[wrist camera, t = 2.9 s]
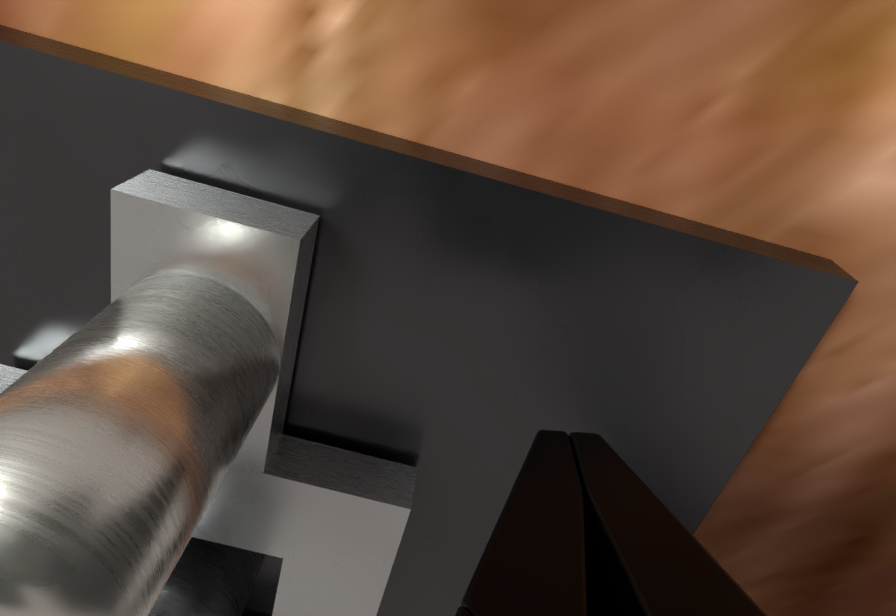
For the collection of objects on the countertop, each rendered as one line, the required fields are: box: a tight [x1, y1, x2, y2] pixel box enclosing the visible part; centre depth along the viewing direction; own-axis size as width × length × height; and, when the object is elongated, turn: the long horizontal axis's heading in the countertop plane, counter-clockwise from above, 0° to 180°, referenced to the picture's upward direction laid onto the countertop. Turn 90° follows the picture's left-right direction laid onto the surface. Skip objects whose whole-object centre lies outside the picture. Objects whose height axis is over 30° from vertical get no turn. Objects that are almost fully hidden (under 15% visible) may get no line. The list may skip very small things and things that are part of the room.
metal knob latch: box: [0, 169, 417, 616], centre depth 11 cm, size 14×9×6 cm, turn 165°
